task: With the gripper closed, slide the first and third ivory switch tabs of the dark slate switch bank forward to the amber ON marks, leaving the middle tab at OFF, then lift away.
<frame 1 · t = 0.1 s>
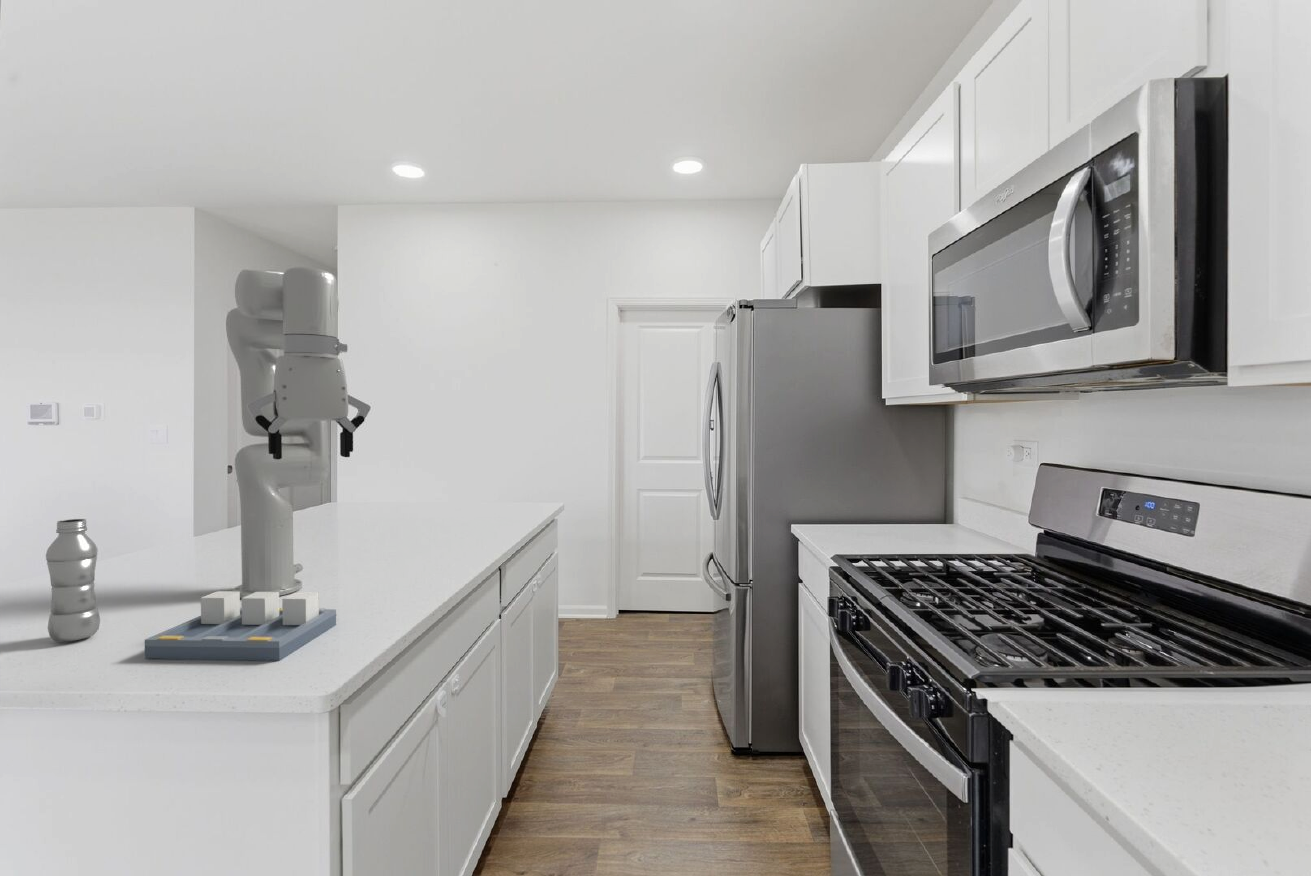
hand: (312, 457, 101), 31 cm above the worktop, tool pointing down, fingers open, 9 cm apart
tab 1: (220, 607, 111), point 4 cm above the worktop, slide at 0.0 cm
plastic bottle: (74, 640, 107), on the worktop
tab 3: (300, 608, 111), point 4 cm above the worktop, slide at 0.0 cm
switch bank: (247, 640, 107), on the worktop
tab 2: (260, 607, 111), point 4 cm above the worktop, slide at 0.0 cm
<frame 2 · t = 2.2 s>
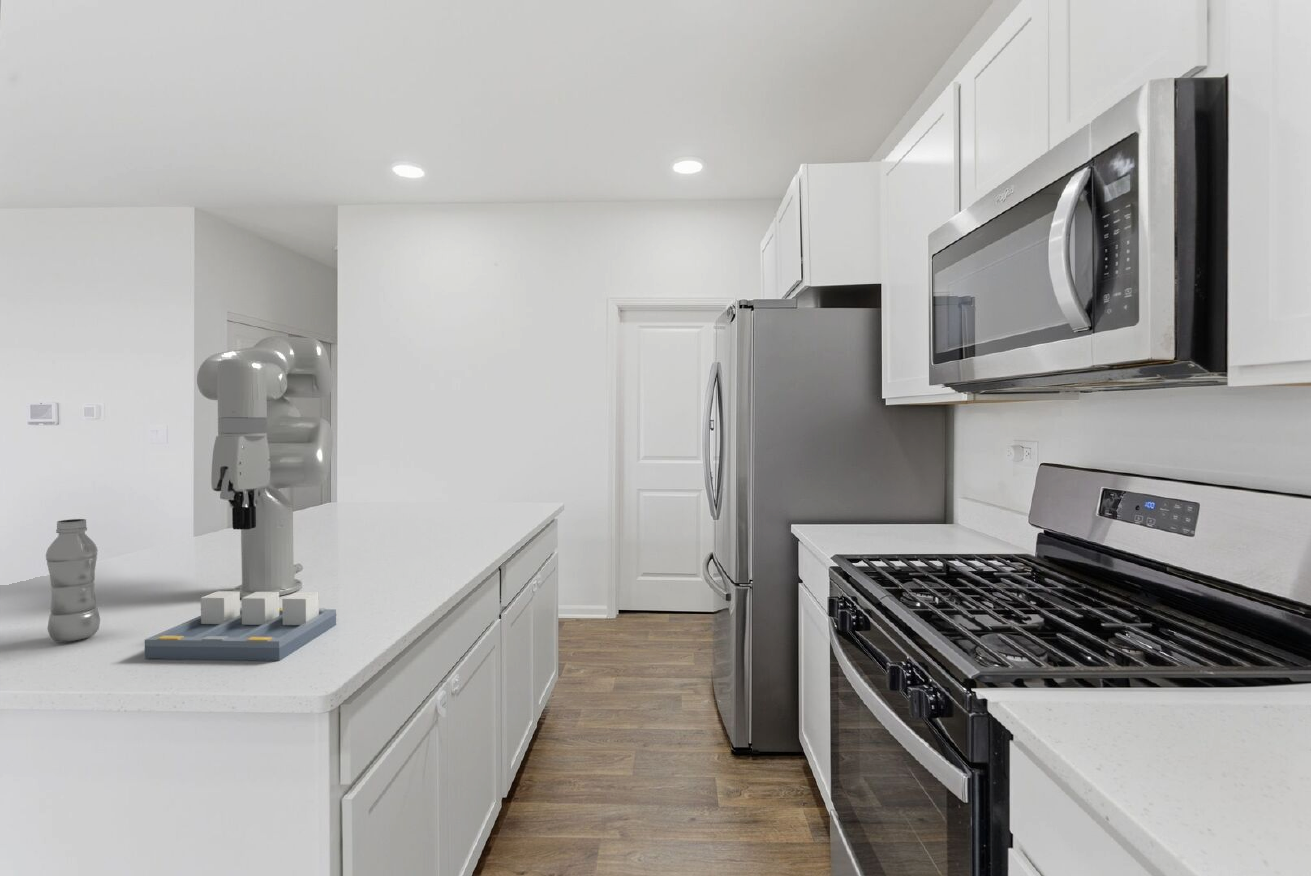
hand: (244, 528, 117), 17 cm above the worktop, tool pointing down, fingers closed
nothing on the worktop moved.
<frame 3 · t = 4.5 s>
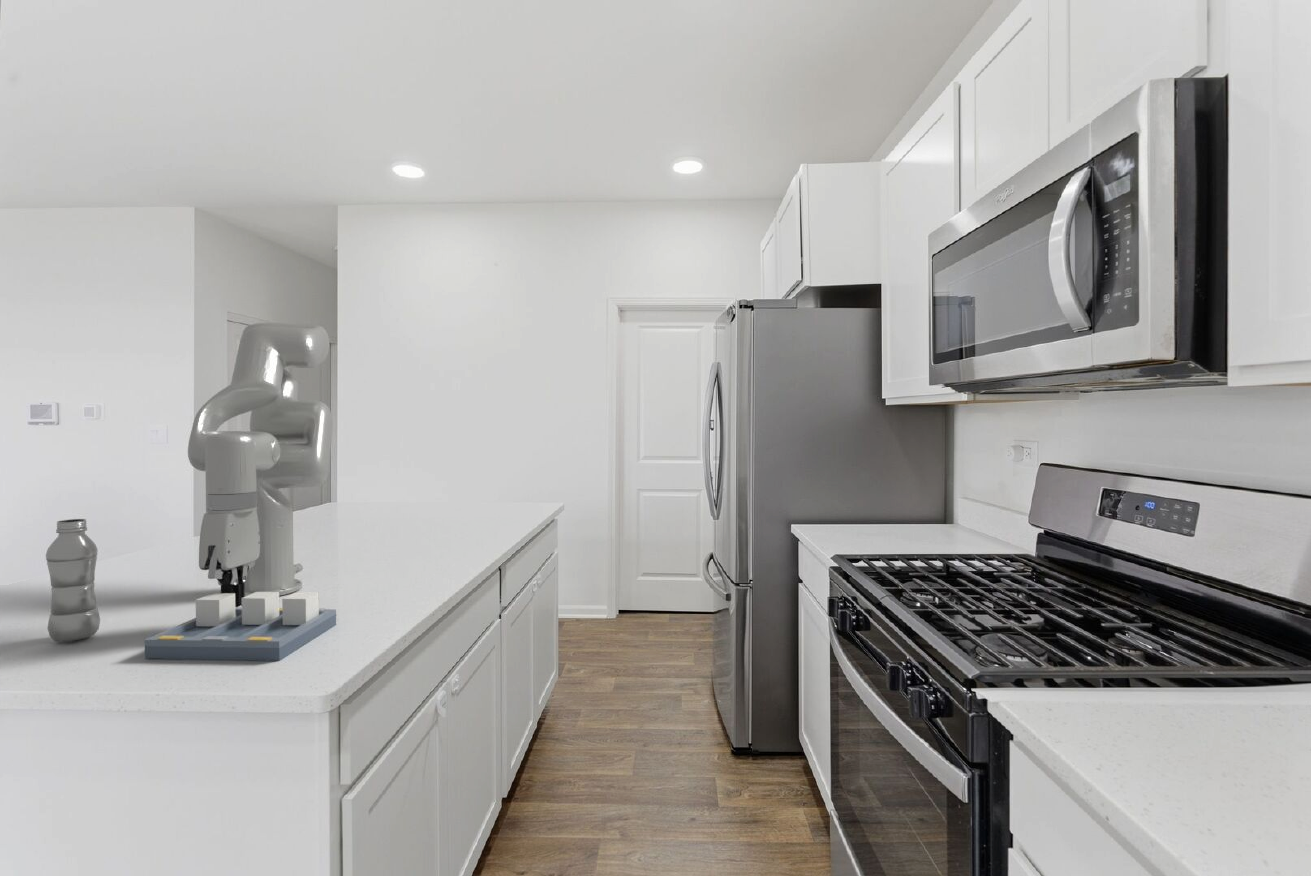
hand: (232, 605, 114), 4 cm above the worktop, tool pointing down, fingers closed
tab 1: (215, 609, 110), point 4 cm above the worktop, slide at 1.2 cm, touching gripper
everything else where it was.
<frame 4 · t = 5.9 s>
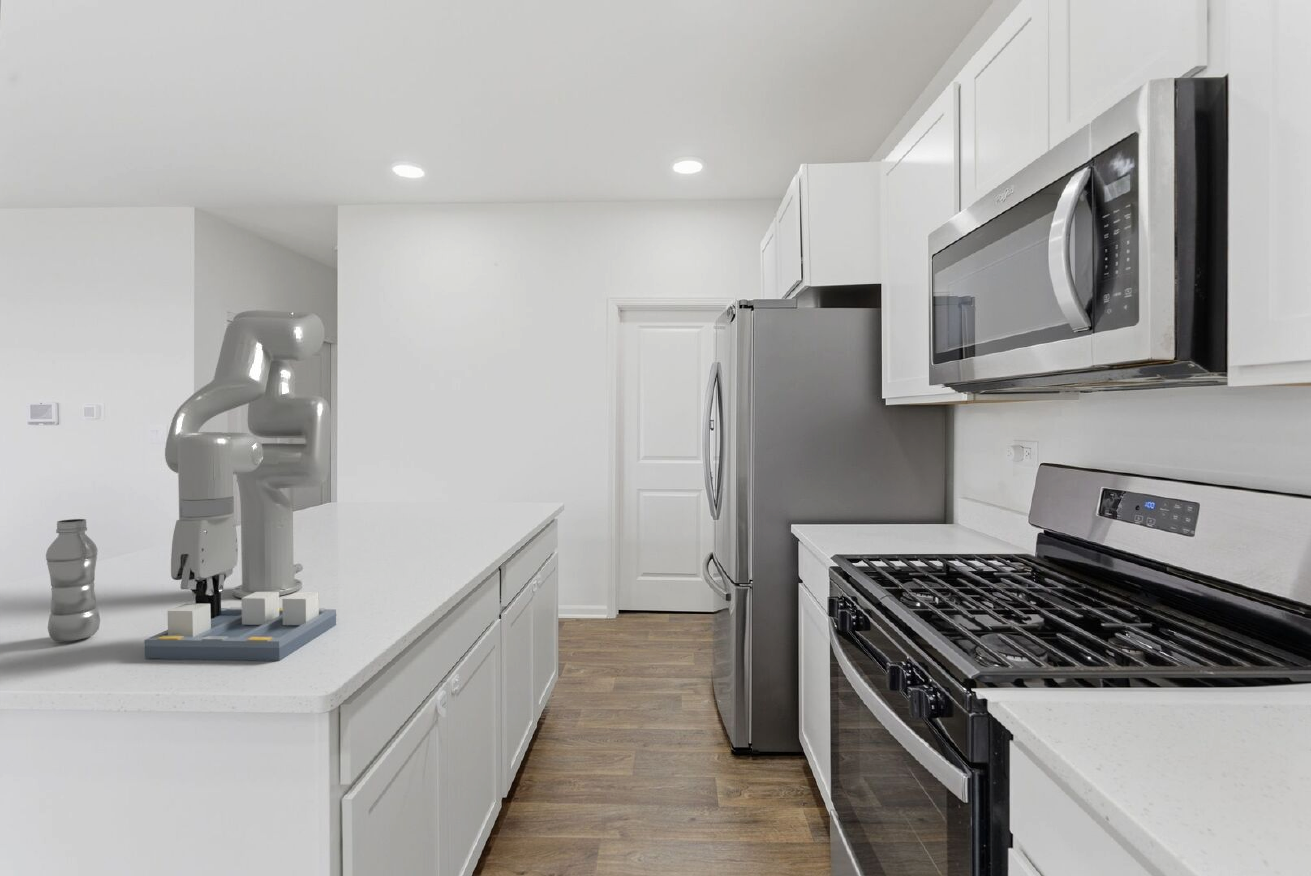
hand: (208, 616, 108), 4 cm above the worktop, tool pointing down, fingers closed
tab 1: (189, 620, 104), point 4 cm above the worktop, slide at 7.3 cm, touching gripper
everything else where it was.
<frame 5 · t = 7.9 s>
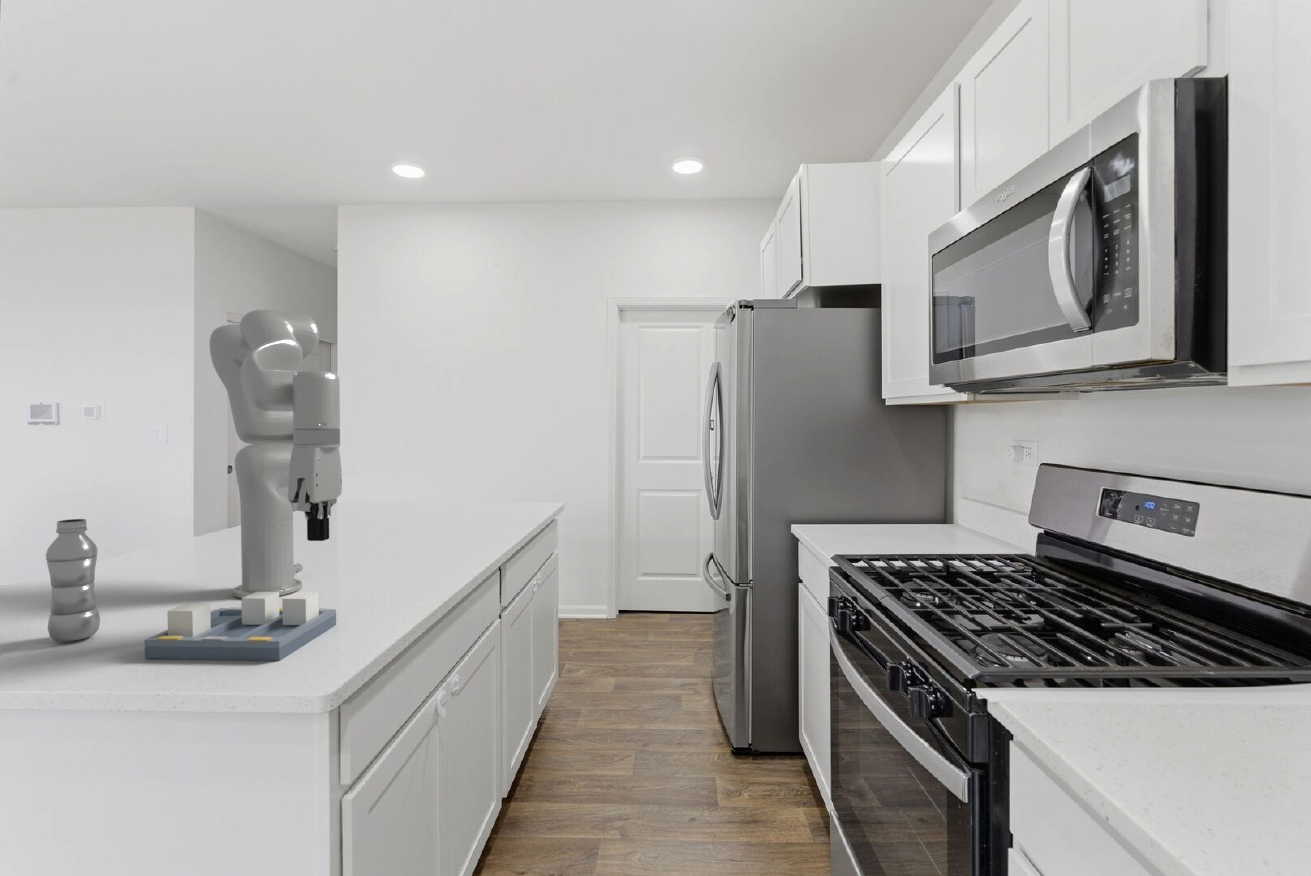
hand: (318, 539, 116), 15 cm above the worktop, tool pointing down, fingers closed
tab 1: (189, 620, 103), point 4 cm above the worktop, slide at 7.3 cm
everything else where it was.
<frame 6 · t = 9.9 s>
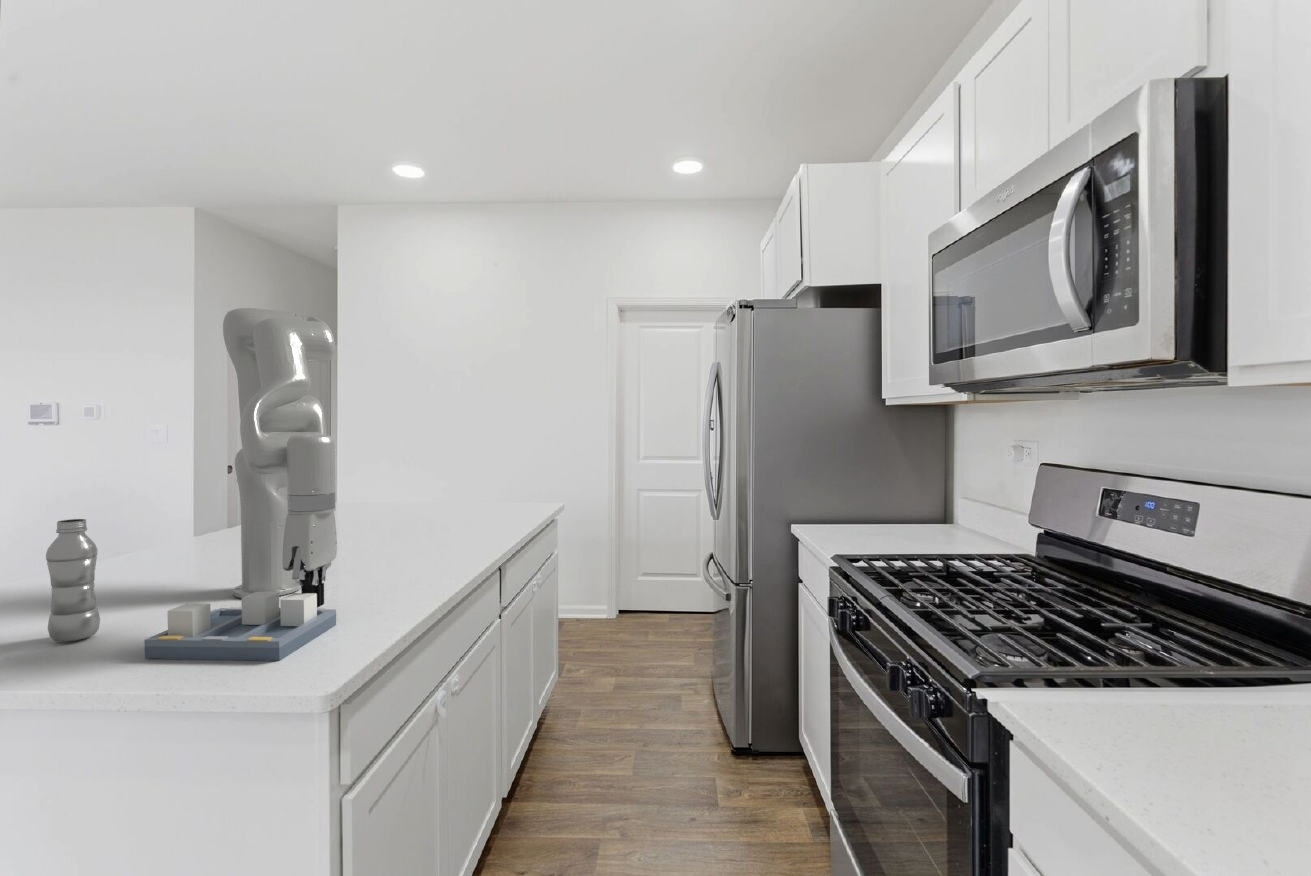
hand: (313, 605, 114), 4 cm above the worktop, tool pointing down, fingers closed
tab 3: (299, 609, 110), point 4 cm above the worktop, slide at 0.6 cm, touching gripper
everything else where it was.
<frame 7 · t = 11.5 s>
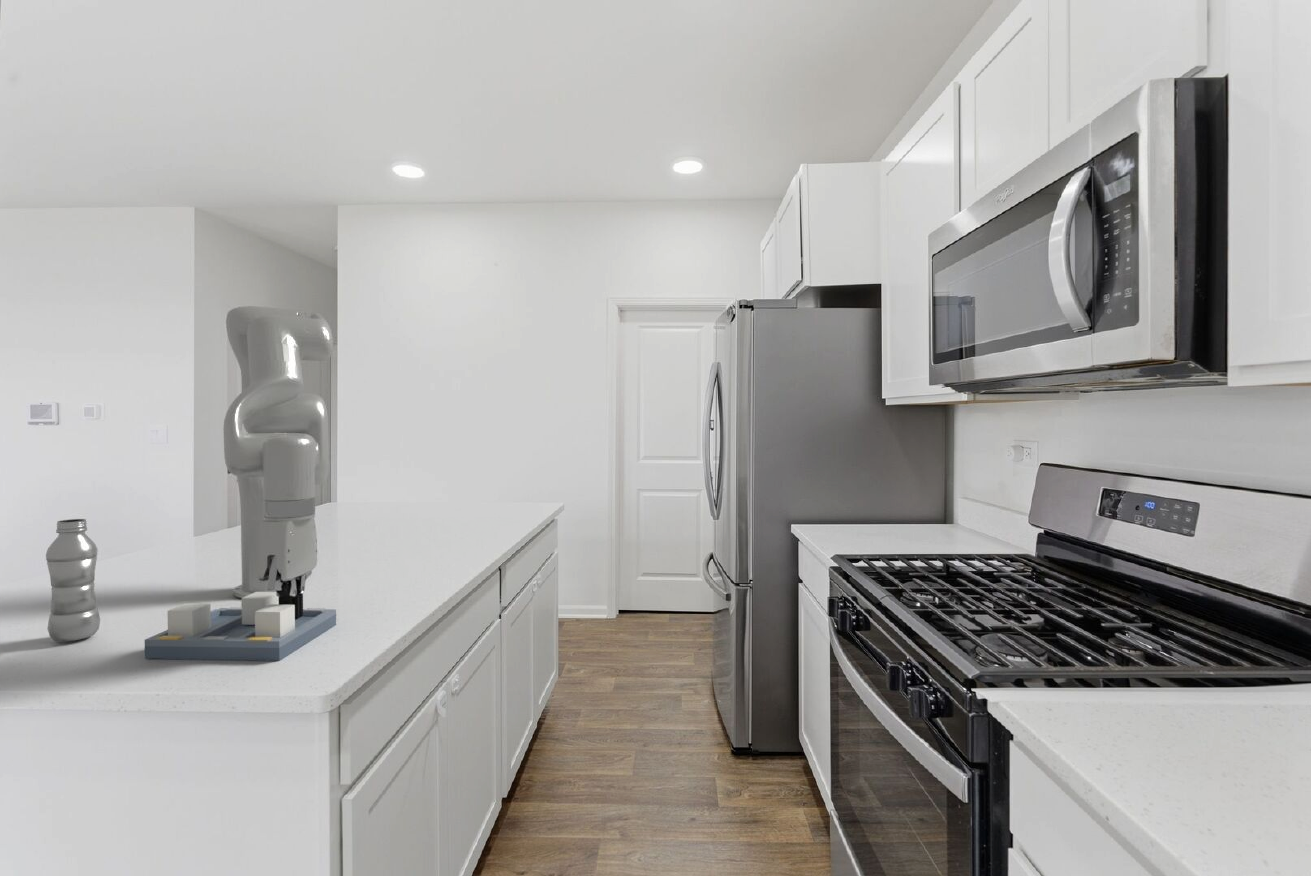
hand: (291, 617, 108), 4 cm above the worktop, tool pointing down, fingers closed
tab 3: (275, 621, 103), point 4 cm above the worktop, slide at 7.3 cm, touching gripper
everything else where it was.
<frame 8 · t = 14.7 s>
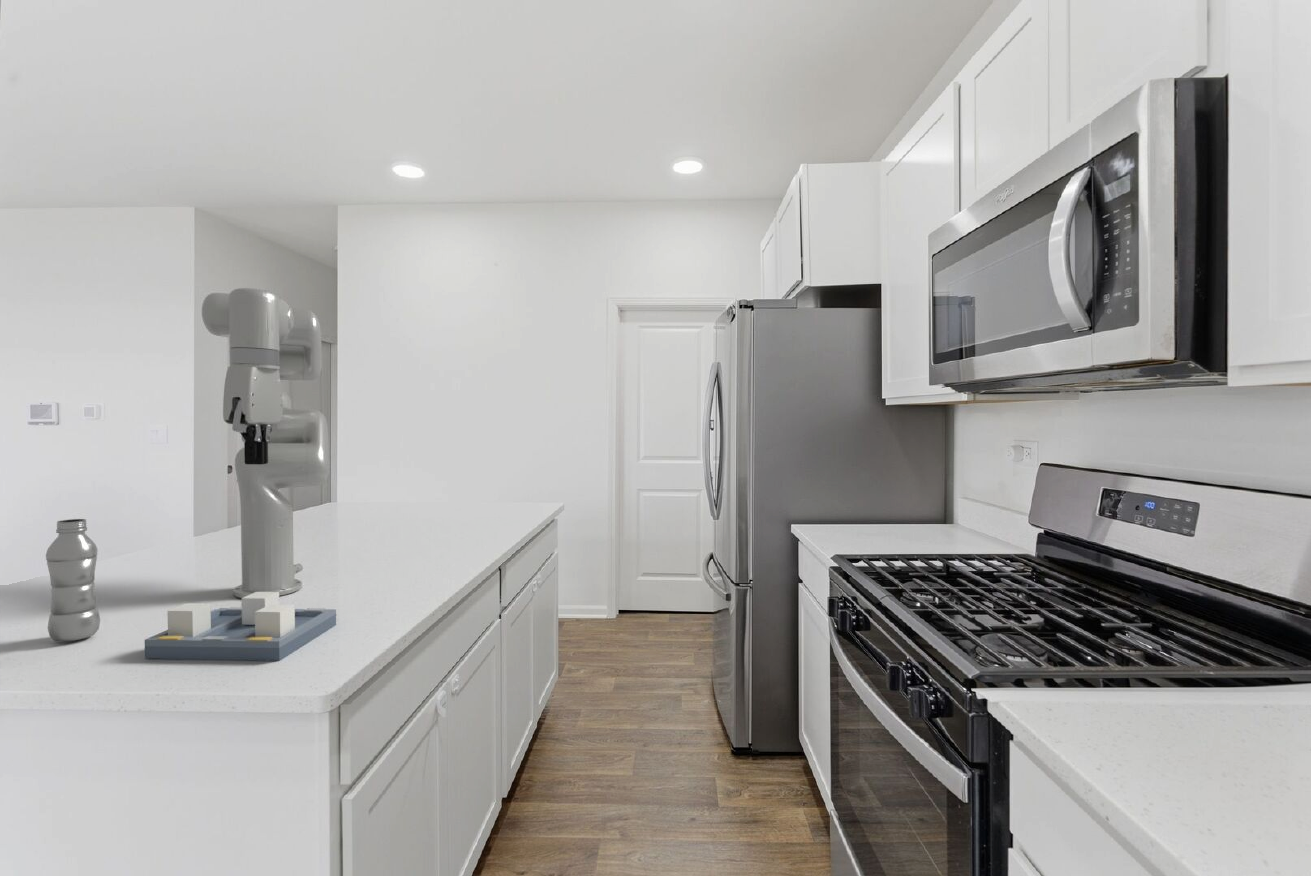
hand: (256, 463, 114), 29 cm above the worktop, tool pointing down, fingers closed
tab 3: (275, 621, 103), point 4 cm above the worktop, slide at 7.3 cm
everything else where it was.
at the end: tab 1 slide at 7.3 cm; tab 3 slide at 7.3 cm; tab 2 slide at 0.0 cm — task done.
